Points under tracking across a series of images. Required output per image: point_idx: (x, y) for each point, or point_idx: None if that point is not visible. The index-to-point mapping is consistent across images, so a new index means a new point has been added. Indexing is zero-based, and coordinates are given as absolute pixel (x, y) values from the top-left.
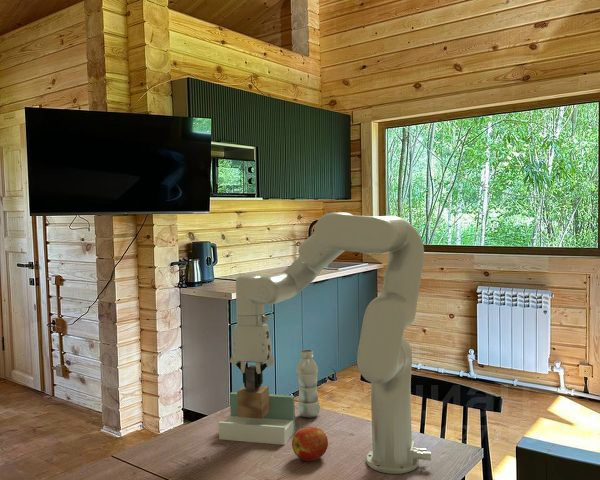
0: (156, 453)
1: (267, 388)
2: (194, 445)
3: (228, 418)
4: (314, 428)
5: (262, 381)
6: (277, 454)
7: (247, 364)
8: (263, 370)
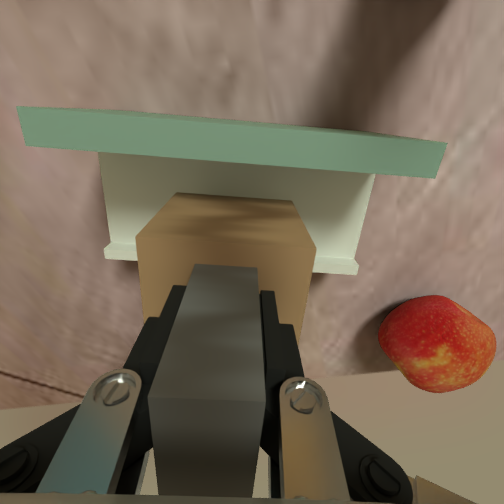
0: (19, 329)
1: (310, 267)
2: (82, 280)
3: (103, 170)
4: (476, 375)
5: (293, 331)
6: (325, 301)
7: (121, 456)
8: (317, 385)
